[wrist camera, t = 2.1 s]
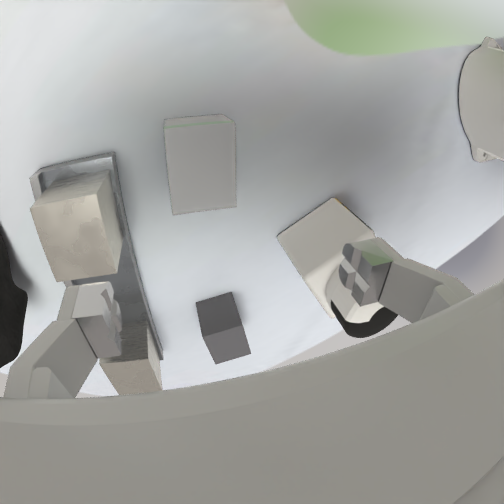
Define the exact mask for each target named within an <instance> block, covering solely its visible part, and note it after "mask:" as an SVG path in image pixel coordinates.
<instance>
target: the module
mask: <svg viewBox="0 0 504 504" xmlns="http://www.w3.org/2000/svg"><path fill="white" fill-rule="evenodd" d="M164 140H165V151H166V162H167V172H168V181H169V190H170V199H171V207H172V214H173V215H178V214H186V213H193V212H201V211H209V210H217V209H225V208H233V207H236V139H235V122H234V121H232V120H230V119H229V118H227V117H226V116H224V115H223V114H216V115H202V116H191V117H181V118H172V119H165V121H164Z"/></svg>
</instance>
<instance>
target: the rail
mask: <svg viewBox="0 0 504 504" xmlns="http://www.w3.org/2000/svg"><path fill="white" fill-rule="evenodd" d="M30 182H31V186H32V190H33V194H34V198H35V201H36V202H35V203H34V204H33V205H32V207H31V208H30V211H31V214H32V217H33V220H34V224H35V227H36V230H37V232H38V235H39V238H40V241H41V244H42V247H43V249H44V252H45V255H46V257H47V260H48V262H49V265H50V267H51V270H52V272H53V274H54V277H55V279H56V281H57V282H62V281H64V283H65V286H66V288H67V287H69V286H75V285H82V284H90V283H98V282H106V281H109V282H110V283H111V285H112V288H113V291H114V294H113V299H115V300H116V301H117V302H118V305H119V307H120V311H121V317H122V330H121V331H120V332H119V335H120V337H121V339H122V343H121V355H120V356H113V357H106V358H100V362H99V364H100V366H101V367H102V369H103V371H104V372H105V374H106V375H107V377H108V379H109V380H110V382H111V383H112V385H113V386H114V388H115V389H116V391H117V392H118V394H119V395H126V394H137V393H147V392H155V391H163V390H162V381H161V370H160V360H163V350H162V347H161V344H160V341H159V338H158V335H157V332H156V329H155V326H154V323H153V320H152V316H151V313H150V310H149V307H148V303H147V300H146V296H145V293H144V289H143V286H142V282H141V278H140V275H139V271H138V267H137V263H136V259H135V255H134V251H133V247H132V243H131V238H130V234H129V229H128V225H127V220H126V215H125V210H124V205H123V200H122V195H121V189H120V183H119V178H118V171H117V165H116V158H115V152H111V153H106V154H101V155H96V156H91V157H86V158H81V159H77V160H73V161H68V162H64V163H60V164H56V165H52V166H48V167H45V168H41V169H39V170H38V171H37V172H35V173H34V174H33V175H32V176H31V177H30Z"/></svg>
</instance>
